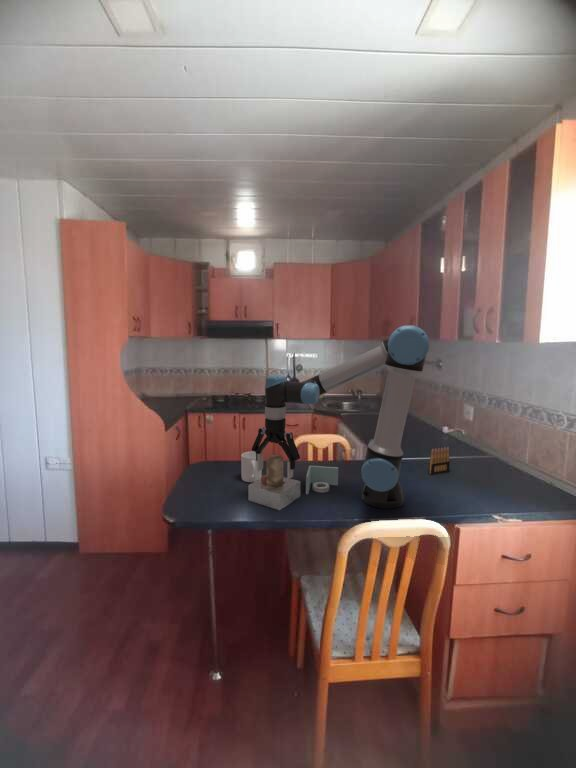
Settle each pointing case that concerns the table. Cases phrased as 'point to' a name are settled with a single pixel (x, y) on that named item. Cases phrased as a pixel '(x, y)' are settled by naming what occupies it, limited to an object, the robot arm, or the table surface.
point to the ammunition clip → (439, 461)
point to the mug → (249, 467)
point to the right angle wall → (321, 478)
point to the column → (274, 471)
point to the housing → (274, 493)
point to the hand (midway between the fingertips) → (274, 473)
